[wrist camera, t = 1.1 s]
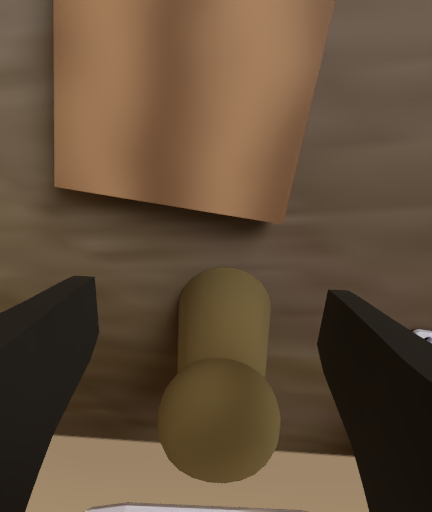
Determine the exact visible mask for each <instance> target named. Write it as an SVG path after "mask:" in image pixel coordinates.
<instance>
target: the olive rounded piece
mask: <svg viewBox="0 0 432 512" xmlns="http://www.w3.org/2000/svg"><path fill="white" fill-rule="evenodd" d="M270 316H271V302H270V298H269V295H268V292H267V290H266V289H265V288H264V286H263V285H262V284H261V282H260V281H259V280H258V279H256V278H255V277H253V276H252V275H251V274H249V273H248V272H245V271H242V270H239V269H236V268H226V267H217V268H214V269H210V270H206V271H203V272H202V273H200V274H198V275H197V276H195V277H194V278H192V279H191V280H190V281H189V283H188V284H187V285H186V286H185V288H184V289H183V291H182V294H181V297H180V300H179V324H178V367H177V375H176V376H175V377H174V378H173V379H172V380H171V381H170V383H169V384H168V386H167V387H166V389H165V391H164V394H163V397H162V400H161V402H160V405H159V409H158V413H157V417H158V435H159V440H160V442H161V444H162V446H163V449H164V451H165V452H166V455H167V457H168V459H169V460H170V461H171V462H172V463H173V464H174V465H175V466H176V467H177V468H178V469H179V470H180V471H182V472H184V473H185V474H187V475H189V476H191V477H192V478H195V479H199V480H202V481H206V482H213V483H228V482H234V481H240V480H243V479H245V478H247V477H250V476H252V475H254V474H255V473H257V472H258V471H259V470H260V469H261V468H262V467H264V466H265V465H266V463H267V462H268V460H269V459H270V457H271V455H272V454H273V452H274V450H275V448H276V447H277V445H278V439H279V433H280V424H281V417H280V411H279V407H278V404H277V400H276V397H275V394H274V392H273V390H272V388H271V386H270V385H269V384H268V382H267V381H266V380H265V374H266V362H267V351H268V339H269V327H270Z"/></svg>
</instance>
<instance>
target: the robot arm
mask: <svg viewBox="0 0 432 512" xmlns="http://www.w3.org/2000/svg"><path fill="white" fill-rule="evenodd" d="M98 334H99V326H98V314H97V301H96V289H95V277H88V276H73V277H70V278H68V279H66V280H64V281H62V282H60V283H58V284H56V285H54V286H52V287H51V288H49V289H47V290H45V291H43V292H41V293H39V294H37V295H36V296H34V297H32V298H30V299H28V300H26V301H24V302H22V303H20V304H18V305H16V306H14V307H12V308H10V309H8V310H6V311H4V312H2V313H0V512H25V510H26V507H27V504H28V501H29V499H30V496H31V493H32V490H33V487H34V484H35V482H36V479H37V476H38V473H39V470H40V468H41V465H42V463H43V460H44V457H45V455H46V452H47V449H48V447H49V444H50V441H51V439H52V436H53V434H54V432H55V430H56V427H57V425H58V423H59V421H60V419H61V417H62V415H63V413H64V411H65V409H66V407H67V405H68V403H69V401H70V399H71V397H72V395H73V393H74V391H75V389H76V387H77V385H78V383H79V381H80V379H81V377H82V375H83V373H84V371H85V369H86V367H87V365H88V363H89V361H90V358H91V356H92V353H93V350H94V347H95V344H96V341H97V337H98ZM426 337H429V338H428V339H427V340H425V338H426ZM317 346H318V350H319V355H320V360H321V364H322V368H323V372H324V375H325V377H326V380H327V383H328V385H329V388H330V391H331V393H332V396H333V398H334V401H335V403H336V406H337V409H338V411H339V414H340V416H341V419H342V421H343V424H344V426H345V429H346V431H347V434H348V437H349V440H350V442H351V445H352V448H353V451H354V455H355V458H356V462H357V466H358V469H359V473H360V477H361V480H362V484H363V488H364V492H365V496H366V500H367V504H368V508H369V512H432V331H427V330H421V329H417V330H414V331H413V332H412V331H410V330H409V329H407V328H405V327H404V326H402V325H401V324H399V323H398V322H396V321H394V320H393V319H391V318H390V317H388V316H387V315H385V314H384V313H382V312H381V311H379V310H378V309H376V308H375V307H373V306H372V305H371V304H369V303H368V302H366V301H365V300H363V299H361V298H360V297H358V296H357V295H355V294H353V293H351V292H350V291H345V290H328V293H327V298H326V303H325V308H324V313H323V318H322V322H321V327H320V332H319V337H318V342H317ZM84 512H306V511H302V510H286V509H263V508H240V507H239V508H238V507H219V506H195V505H174V504H150V503H129V502H127V503H120V504H113V505H105V506H97V507H92V508H90V509H88V510H86V511H84Z"/></svg>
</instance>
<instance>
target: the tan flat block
mask: <svg viewBox="0 0 432 512" xmlns="http://www.w3.org/2000/svg"><path fill="white" fill-rule="evenodd" d="M335 1H336V0H53V29H54V187H59V188H65V189H71V190H77V191H83V192H89V193H95V194H101V195H107V196H114V197H120V198H126V199H132V200H138V201H144V202H150V203H156V204H162V205H168V206H174V207H180V208H186V209H192V210H198V211H204V212H211V213H217V214H223V215H229V216H235V217H241V218H247V219H253V220H259V221H265V222H271V223H277V224H283V223H284V219H285V215H286V211H287V206H288V202H289V198H290V194H291V189H292V185H293V181H294V176H295V172H296V168H297V164H298V159H299V155H300V151H301V146H302V142H303V138H304V134H305V129H306V125H307V121H308V117H309V112H310V108H311V104H312V99H313V95H314V91H315V87H316V82H317V78H318V74H319V70H320V65H321V61H322V57H323V52H324V48H325V44H326V40H327V35H328V31H329V27H330V22H331V18H332V14H333V10H334V5H335Z"/></svg>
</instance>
